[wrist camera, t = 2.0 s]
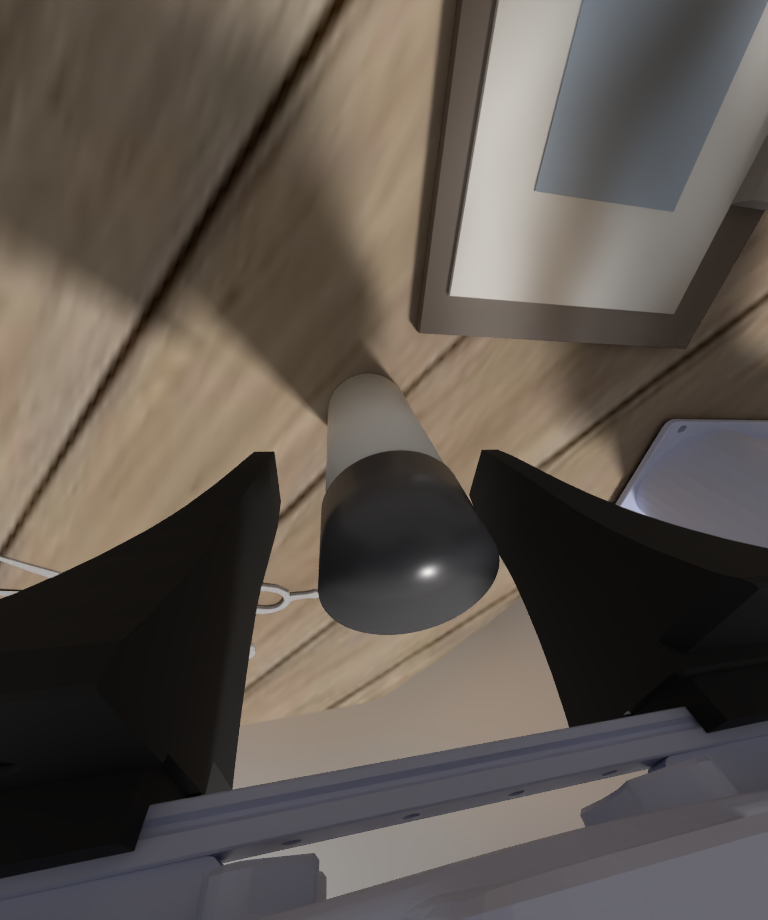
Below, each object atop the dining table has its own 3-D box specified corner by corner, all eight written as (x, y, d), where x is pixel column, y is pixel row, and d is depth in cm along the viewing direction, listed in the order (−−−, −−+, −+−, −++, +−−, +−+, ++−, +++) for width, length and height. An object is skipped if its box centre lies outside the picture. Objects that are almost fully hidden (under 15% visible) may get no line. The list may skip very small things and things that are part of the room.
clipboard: (1041, -322, 8) (1183, -441, 6) (674, 346, 16) (704, 352, 15) (537, -656, 5) (602, -949, 4) (416, 330, 14) (425, 336, 12)
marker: (413, 372, 15) (523, 510, 6) (403, 448, 17) (475, 626, 8) (324, 369, 14) (313, 519, 5) (326, 448, 16) (321, 642, 8)
